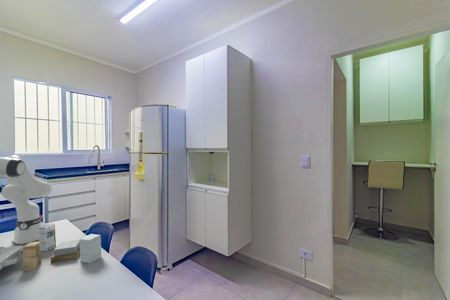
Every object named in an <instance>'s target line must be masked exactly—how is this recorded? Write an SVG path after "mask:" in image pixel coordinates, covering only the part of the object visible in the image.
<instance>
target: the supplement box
mask: <svg viewBox="0 0 450 300" xmlns="http://www.w3.org/2000/svg"><path fill="white" fill-rule="evenodd" d="M101 236H102V235H101V234H94V233H90V234H88V235H85V236H84V237H82V238H79V239H78V240H80V255H79V259H80V261H79V262H80V263H86V264H92V263H94V262H95V261H97V260H98V259H100V258H102V237H101Z"/></svg>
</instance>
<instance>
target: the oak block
mask: <svg viewBox="0 0 450 300" xmlns="http://www.w3.org/2000/svg"><path fill="white" fill-rule="evenodd" d="M41 254H42V252H41V247H40V242H39V241H33V242H29V243H26V244H25V245H24V246H23V254H22V258H23V259H22V260H23V261H22V262H23V271H30V270H31V271H32V270H37V269H38V268H39V266H40V265H42V255H41Z"/></svg>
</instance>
